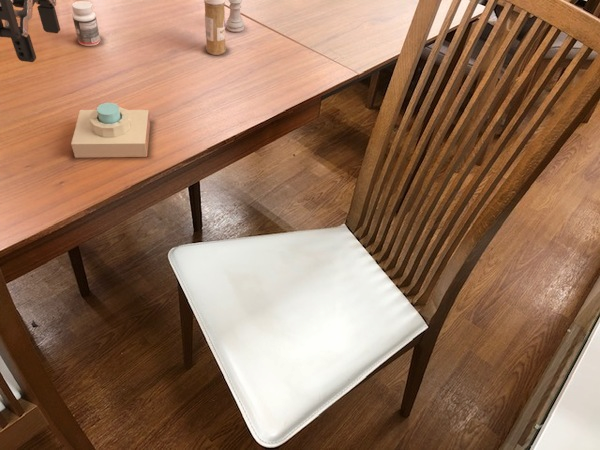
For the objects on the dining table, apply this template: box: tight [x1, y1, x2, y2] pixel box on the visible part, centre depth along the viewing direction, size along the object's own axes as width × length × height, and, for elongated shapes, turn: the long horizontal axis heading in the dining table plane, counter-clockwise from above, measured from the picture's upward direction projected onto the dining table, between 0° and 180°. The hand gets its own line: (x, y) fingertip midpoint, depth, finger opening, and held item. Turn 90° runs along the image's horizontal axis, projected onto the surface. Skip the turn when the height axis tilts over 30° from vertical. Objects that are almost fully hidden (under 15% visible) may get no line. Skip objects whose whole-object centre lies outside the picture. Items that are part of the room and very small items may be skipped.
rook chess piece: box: [225, 0, 245, 33], centre depth 122 cm, size 4×4×8 cm
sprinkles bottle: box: [203, 0, 227, 56], centre depth 112 cm, size 5×5×13 cm
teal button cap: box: [96, 102, 121, 124], centre depth 87 cm, size 4×4×2 cm
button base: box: [70, 106, 151, 159], centre depth 89 cm, size 12×10×5 cm
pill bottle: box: [71, 0, 101, 47], centre depth 111 cm, size 5×5×8 cm
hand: (40, 45), depth 72 cm, fingers open, 8 cm apart
